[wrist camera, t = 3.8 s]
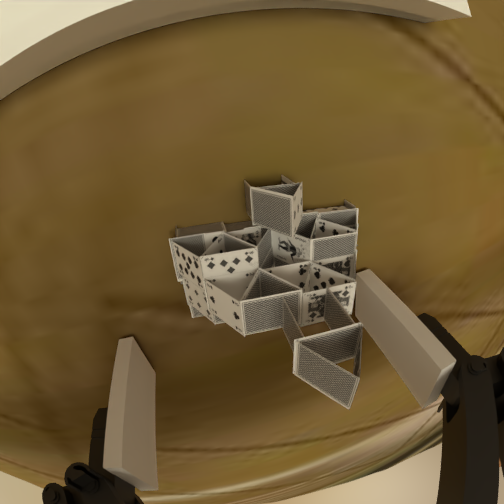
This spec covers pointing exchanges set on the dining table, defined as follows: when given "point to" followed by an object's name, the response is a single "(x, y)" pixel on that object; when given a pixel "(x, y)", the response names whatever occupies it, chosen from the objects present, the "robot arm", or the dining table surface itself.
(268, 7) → the tray
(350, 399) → the house of cards
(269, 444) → the dining table surface
